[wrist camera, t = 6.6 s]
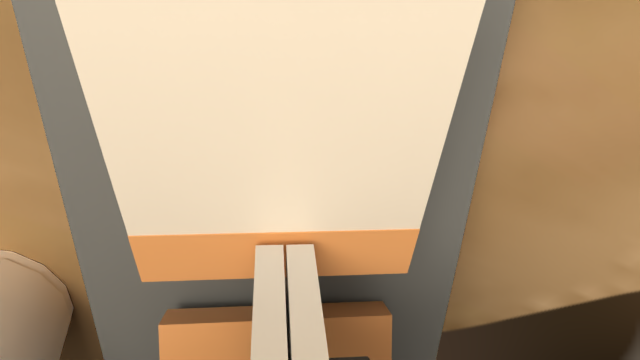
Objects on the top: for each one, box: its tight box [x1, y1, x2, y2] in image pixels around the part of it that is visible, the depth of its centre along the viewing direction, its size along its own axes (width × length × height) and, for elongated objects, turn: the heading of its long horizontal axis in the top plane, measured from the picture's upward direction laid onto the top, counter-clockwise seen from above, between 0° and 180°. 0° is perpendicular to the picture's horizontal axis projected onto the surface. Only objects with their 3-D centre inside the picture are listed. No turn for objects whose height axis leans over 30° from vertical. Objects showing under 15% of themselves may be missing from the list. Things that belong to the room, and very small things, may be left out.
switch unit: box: [11, 0, 515, 360], centre depth 19 cm, size 14×23×6 cm, turn 178°
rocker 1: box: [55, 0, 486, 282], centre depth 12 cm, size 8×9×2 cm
